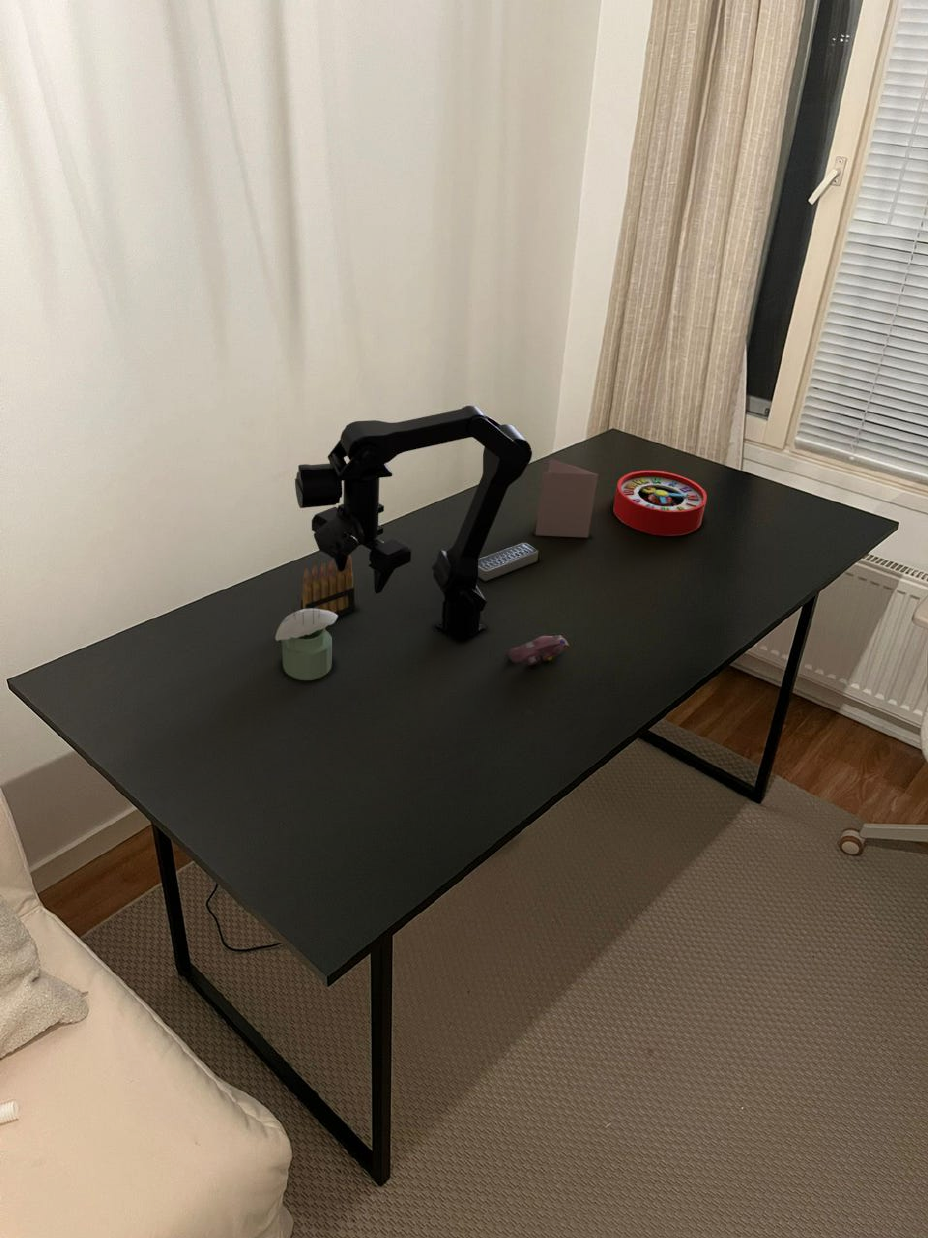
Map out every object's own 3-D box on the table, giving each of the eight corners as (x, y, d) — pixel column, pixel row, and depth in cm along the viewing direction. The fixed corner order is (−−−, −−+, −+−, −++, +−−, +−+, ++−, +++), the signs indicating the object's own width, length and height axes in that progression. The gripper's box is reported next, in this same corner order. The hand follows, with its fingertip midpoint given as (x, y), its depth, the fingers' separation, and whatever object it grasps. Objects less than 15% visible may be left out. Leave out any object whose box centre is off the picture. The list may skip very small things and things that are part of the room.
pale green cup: (341, 666, 172) (341, 631, 168) (304, 686, 167) (303, 650, 163) (310, 645, 176) (309, 610, 172) (273, 664, 171) (271, 628, 167)
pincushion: (327, 609, 173) (326, 582, 169) (347, 626, 169) (347, 598, 166) (266, 632, 166) (265, 604, 163) (286, 650, 162) (285, 622, 159)
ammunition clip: (305, 628, 181) (304, 572, 174) (300, 623, 182) (299, 567, 175) (355, 610, 186) (355, 555, 180) (349, 605, 188) (350, 550, 181)
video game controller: (515, 676, 176) (527, 657, 170) (504, 654, 178) (517, 635, 172) (562, 663, 180) (576, 645, 174) (552, 642, 182) (565, 623, 176)
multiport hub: (470, 571, 201) (471, 561, 199) (523, 551, 209) (524, 541, 208) (485, 581, 198) (485, 571, 197) (538, 560, 206) (539, 550, 205)
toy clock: (612, 467, 232) (698, 473, 232) (608, 490, 235) (693, 496, 236) (622, 508, 215) (714, 515, 216) (618, 532, 219) (708, 538, 219)
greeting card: (589, 535, 216) (599, 473, 208) (573, 549, 211) (583, 485, 203) (543, 519, 221) (551, 457, 213) (527, 532, 216) (534, 469, 207)
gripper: (285, 494, 162) (287, 575, 171) (363, 538, 152) (361, 622, 161) (337, 474, 169) (337, 553, 178) (415, 515, 159) (411, 597, 168)
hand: (359, 581), depth 171 cm, fingers open, 9 cm apart
